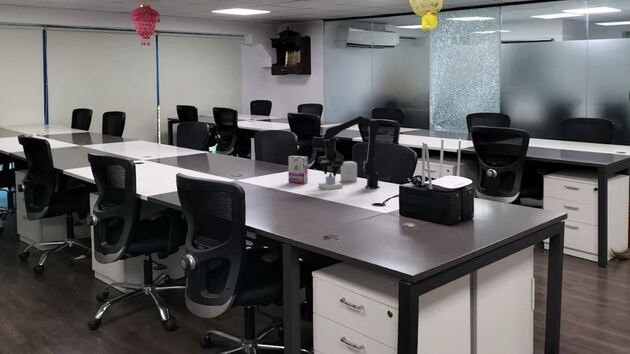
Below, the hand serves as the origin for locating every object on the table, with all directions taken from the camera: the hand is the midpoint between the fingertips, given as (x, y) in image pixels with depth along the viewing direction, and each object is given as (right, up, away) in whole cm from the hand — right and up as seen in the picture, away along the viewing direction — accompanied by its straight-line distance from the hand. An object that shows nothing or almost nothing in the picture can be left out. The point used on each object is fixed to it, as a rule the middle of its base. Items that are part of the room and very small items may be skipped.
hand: (330, 175), depth 343 cm
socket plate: (0, -7, +1) cm, 7 cm away
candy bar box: (-19, -5, +15) cm, 25 cm away
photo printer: (+12, -4, +21) cm, 25 cm away
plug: (0, -7, +1) cm, 7 cm away
